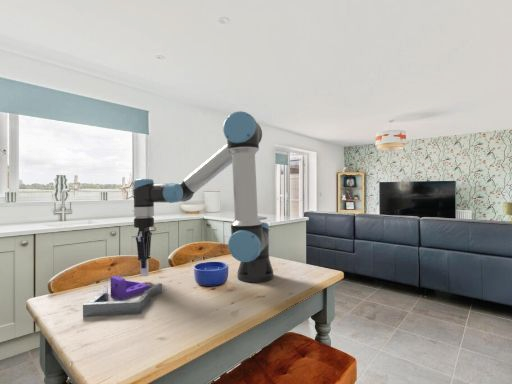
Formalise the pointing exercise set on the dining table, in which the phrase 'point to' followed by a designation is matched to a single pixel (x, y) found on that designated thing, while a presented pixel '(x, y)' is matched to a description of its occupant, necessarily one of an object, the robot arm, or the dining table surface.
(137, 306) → the spouted tray
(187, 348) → the dining table surface
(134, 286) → the bracket
